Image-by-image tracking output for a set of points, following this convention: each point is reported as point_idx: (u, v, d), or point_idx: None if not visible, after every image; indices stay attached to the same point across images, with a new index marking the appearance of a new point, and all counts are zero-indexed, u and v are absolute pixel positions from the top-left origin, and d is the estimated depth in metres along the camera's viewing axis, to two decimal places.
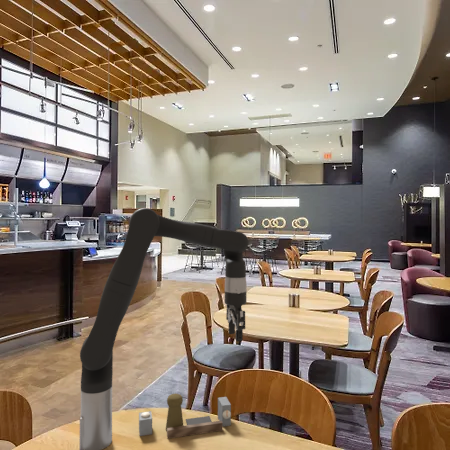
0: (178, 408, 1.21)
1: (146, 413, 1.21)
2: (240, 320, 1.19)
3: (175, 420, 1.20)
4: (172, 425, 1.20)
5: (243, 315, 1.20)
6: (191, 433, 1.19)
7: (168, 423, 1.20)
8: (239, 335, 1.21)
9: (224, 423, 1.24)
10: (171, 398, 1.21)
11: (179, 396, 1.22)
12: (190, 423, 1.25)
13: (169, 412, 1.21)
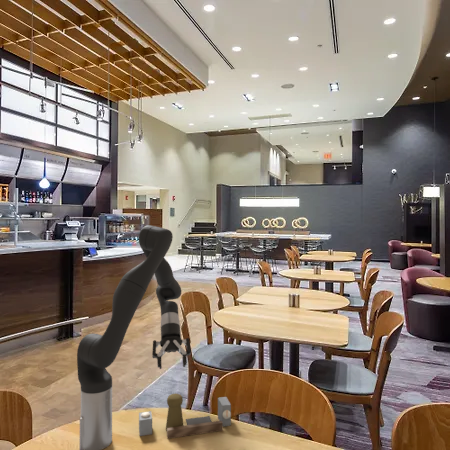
0: (178, 408, 1.21)
1: (146, 413, 1.21)
2: (189, 345, 1.40)
3: (175, 420, 1.20)
4: (172, 425, 1.20)
5: None
6: (191, 433, 1.19)
7: (168, 423, 1.20)
8: (186, 360, 1.37)
9: (224, 423, 1.24)
10: (171, 398, 1.21)
11: (179, 396, 1.22)
12: (190, 423, 1.25)
13: (169, 412, 1.21)
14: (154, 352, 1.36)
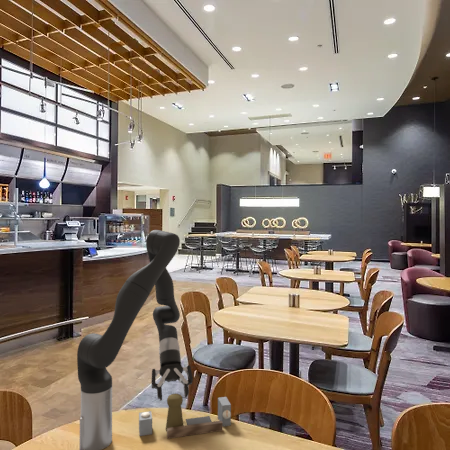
0: (178, 408, 1.21)
1: (146, 413, 1.21)
2: None
3: (175, 420, 1.20)
4: (172, 425, 1.20)
5: None
6: (191, 433, 1.19)
7: (168, 423, 1.20)
8: None
9: (224, 423, 1.24)
10: (171, 398, 1.21)
11: (179, 396, 1.22)
12: (190, 423, 1.25)
13: (169, 412, 1.21)
14: (154, 382, 1.27)
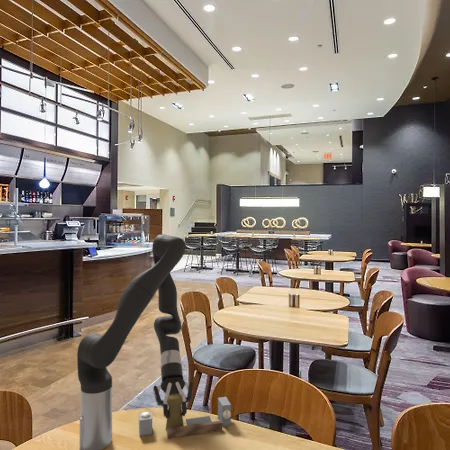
0: (178, 408, 1.21)
1: (146, 413, 1.21)
2: (191, 391, 1.27)
3: (175, 420, 1.20)
4: (172, 425, 1.20)
5: None
6: (191, 433, 1.19)
7: (168, 423, 1.20)
8: None
9: (224, 423, 1.24)
10: (171, 398, 1.21)
11: (179, 396, 1.22)
12: (190, 423, 1.25)
13: (169, 412, 1.21)
14: (159, 399, 1.22)
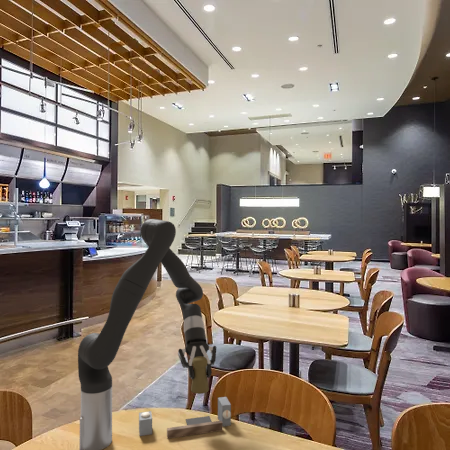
0: (203, 369, 1.23)
1: (146, 413, 1.21)
2: (215, 354, 1.29)
3: (200, 381, 1.22)
4: (198, 386, 1.22)
5: None
6: (191, 433, 1.19)
7: (194, 384, 1.23)
8: None
9: (224, 423, 1.24)
10: (196, 359, 1.23)
11: (204, 358, 1.24)
12: (190, 423, 1.25)
13: (194, 373, 1.23)
14: (184, 361, 1.25)
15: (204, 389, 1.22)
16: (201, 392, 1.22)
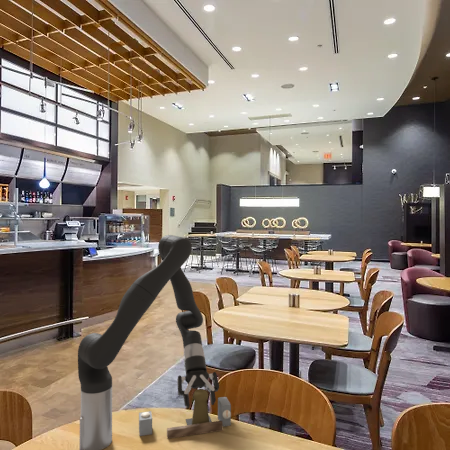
0: (204, 403, 1.24)
1: (146, 413, 1.21)
2: None
3: (201, 414, 1.23)
4: (199, 419, 1.22)
5: None
6: (191, 433, 1.19)
7: (195, 418, 1.23)
8: None
9: (224, 423, 1.24)
10: (197, 393, 1.23)
11: (205, 391, 1.25)
12: (190, 423, 1.25)
13: (195, 407, 1.23)
14: (180, 389, 1.25)
15: None
16: None
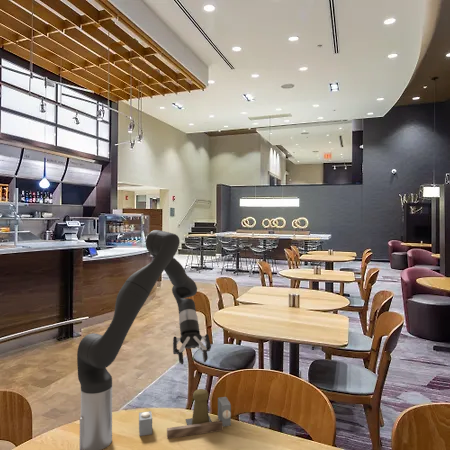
0: (204, 403, 1.24)
1: (146, 413, 1.21)
2: None
3: (201, 414, 1.23)
4: (199, 419, 1.22)
5: None
6: (191, 433, 1.19)
7: (195, 418, 1.23)
8: None
9: (224, 423, 1.24)
10: (197, 393, 1.23)
11: (205, 391, 1.25)
12: (190, 423, 1.25)
13: (195, 407, 1.23)
14: (175, 348, 1.38)
15: None
16: None
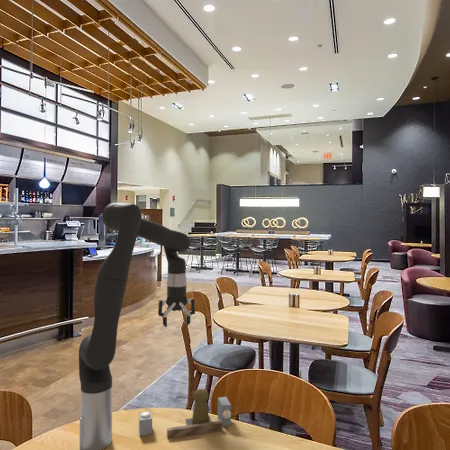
0: (204, 403, 1.24)
1: (146, 413, 1.21)
2: None
3: (201, 414, 1.23)
4: (199, 419, 1.22)
5: None
6: (191, 433, 1.19)
7: (195, 418, 1.23)
8: None
9: (224, 423, 1.24)
10: (197, 393, 1.23)
11: (205, 391, 1.25)
12: (190, 423, 1.25)
13: (195, 407, 1.23)
14: (160, 313, 1.42)
15: None
16: None
